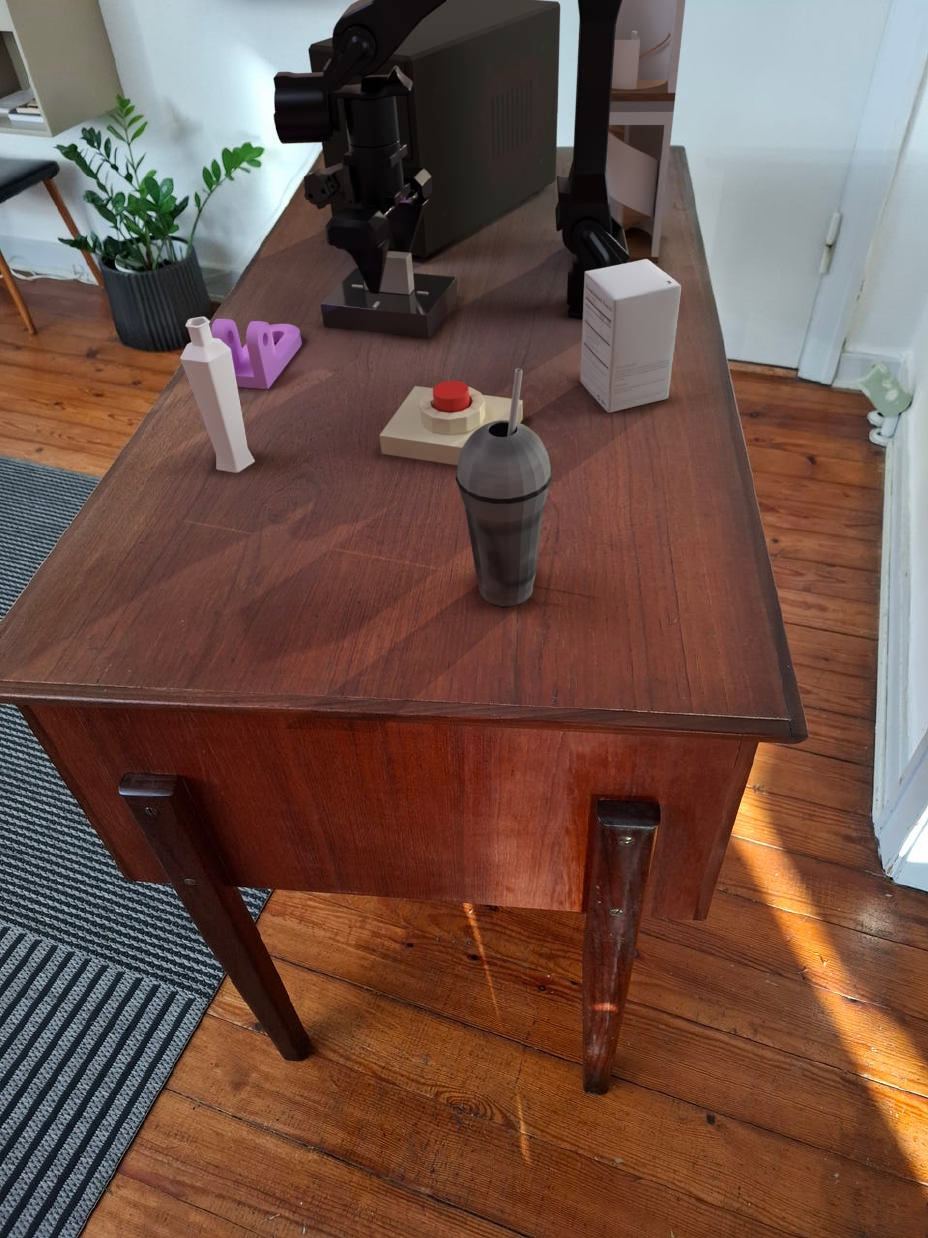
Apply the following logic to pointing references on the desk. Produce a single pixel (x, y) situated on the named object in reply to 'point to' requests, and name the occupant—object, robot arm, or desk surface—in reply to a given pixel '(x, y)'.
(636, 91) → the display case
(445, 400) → the button
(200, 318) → the perfume bottle
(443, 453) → the block
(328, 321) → the panel
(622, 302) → the white packaging box
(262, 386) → the bracket
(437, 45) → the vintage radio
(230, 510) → the desk surface
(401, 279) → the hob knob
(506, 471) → the beverage cup
